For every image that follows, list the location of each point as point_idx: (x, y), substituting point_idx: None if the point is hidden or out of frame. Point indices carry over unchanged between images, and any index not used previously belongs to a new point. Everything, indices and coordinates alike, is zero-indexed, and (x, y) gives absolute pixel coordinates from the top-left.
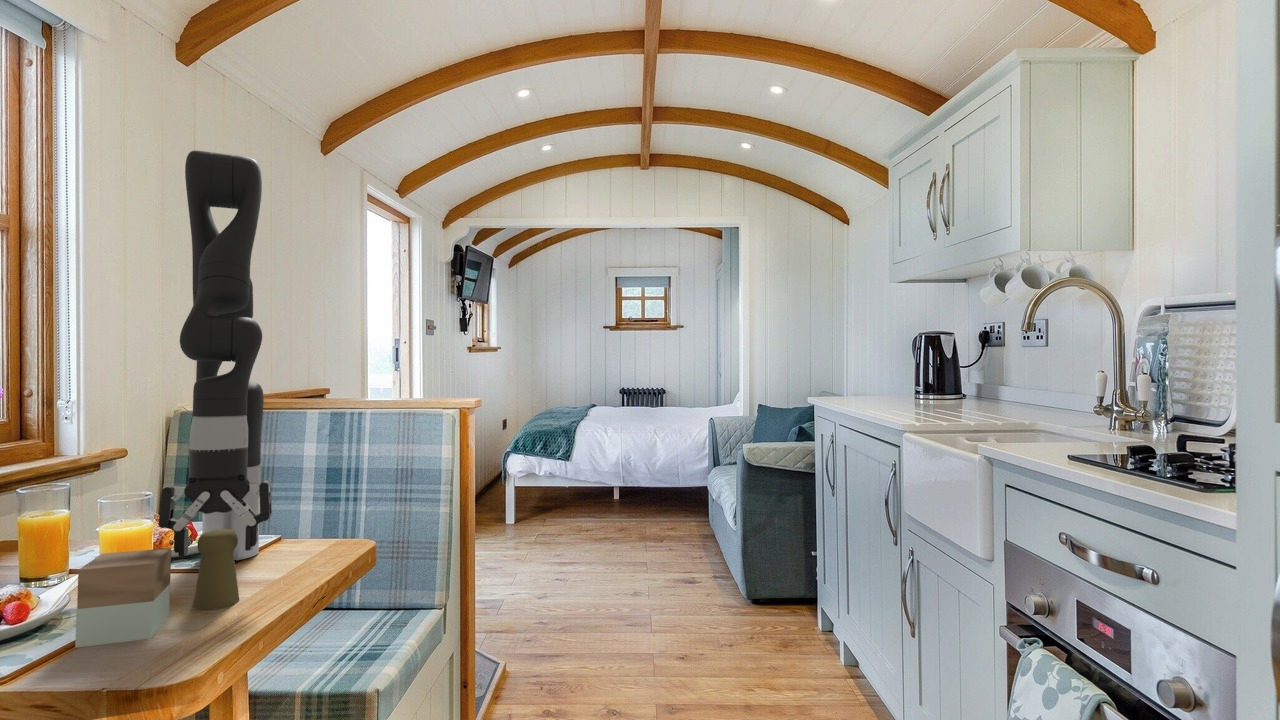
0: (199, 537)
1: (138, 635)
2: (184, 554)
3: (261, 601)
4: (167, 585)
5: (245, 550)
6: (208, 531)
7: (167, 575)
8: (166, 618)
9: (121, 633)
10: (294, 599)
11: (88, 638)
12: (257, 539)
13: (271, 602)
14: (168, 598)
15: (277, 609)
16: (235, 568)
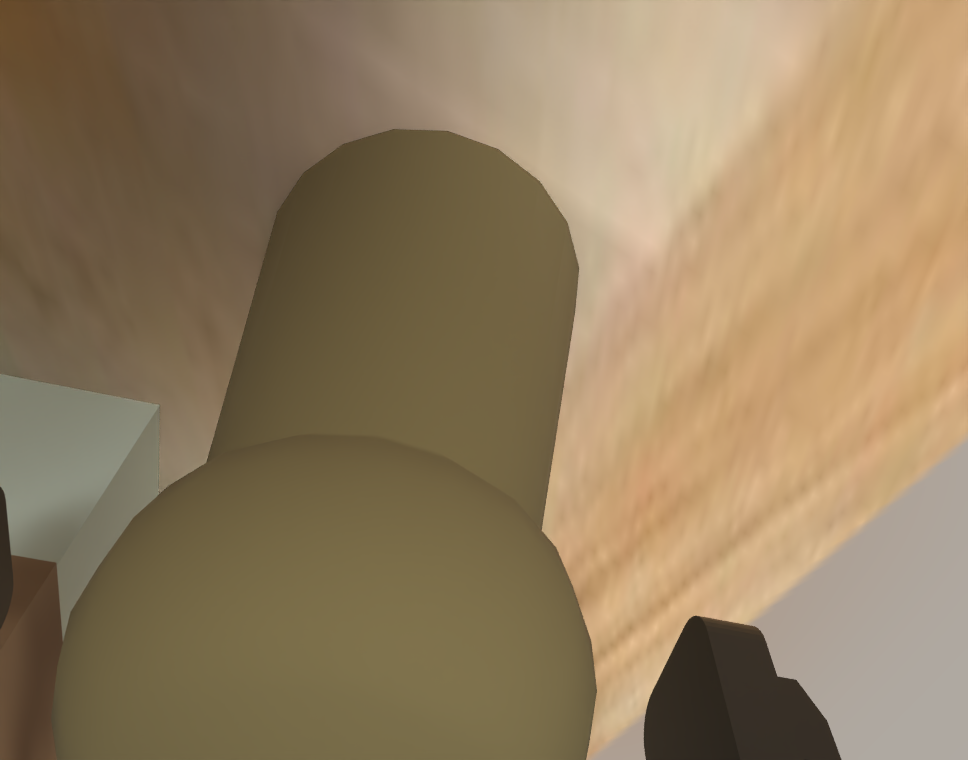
0: (55, 740)
1: None
2: (2, 605)
3: (700, 411)
4: (59, 625)
5: (647, 713)
6: (133, 739)
7: (18, 701)
8: (154, 454)
9: None
10: (886, 481)
11: None
12: (828, 748)
13: (748, 462)
14: (106, 509)
15: (740, 588)
16: (556, 409)
